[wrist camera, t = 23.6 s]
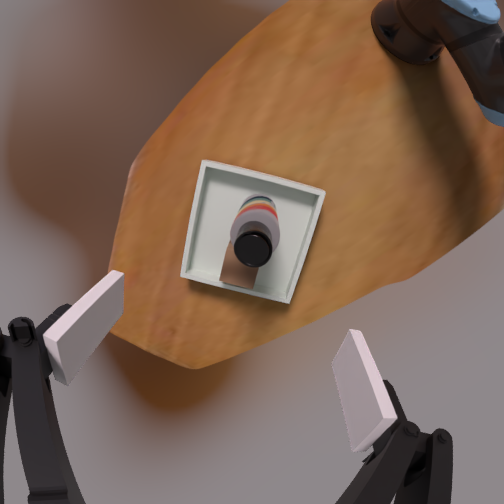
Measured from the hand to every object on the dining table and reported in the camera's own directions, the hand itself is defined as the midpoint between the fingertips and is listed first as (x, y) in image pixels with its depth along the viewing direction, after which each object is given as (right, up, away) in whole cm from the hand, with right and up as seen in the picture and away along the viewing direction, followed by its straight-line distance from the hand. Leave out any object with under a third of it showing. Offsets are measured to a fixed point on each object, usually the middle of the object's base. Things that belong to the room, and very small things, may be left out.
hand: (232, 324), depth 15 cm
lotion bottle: (+2, +11, +31) cm, 33 cm away
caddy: (+1, +8, +34) cm, 35 cm away
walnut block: (0, +3, +33) cm, 34 cm away
